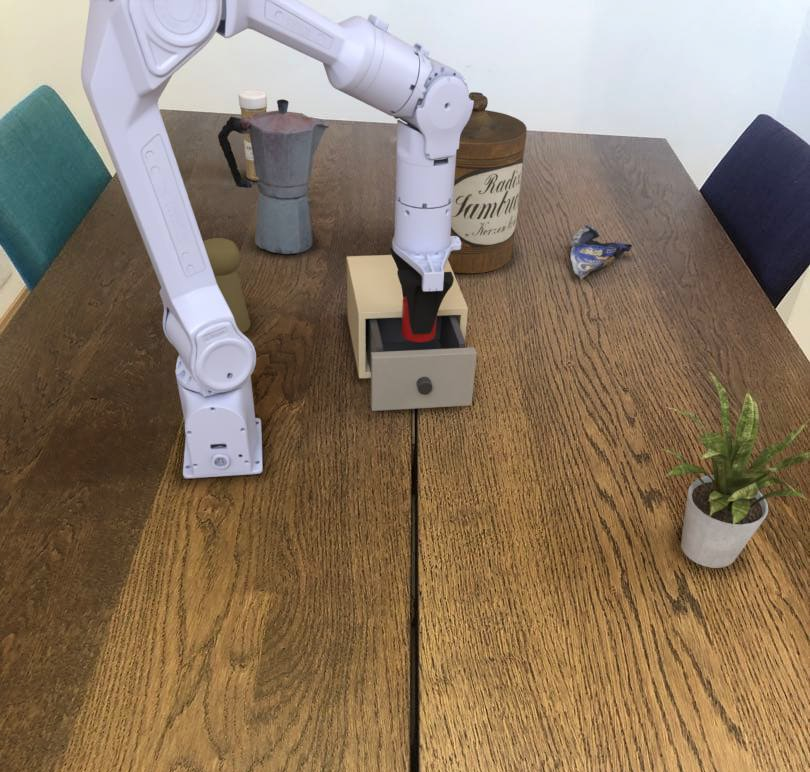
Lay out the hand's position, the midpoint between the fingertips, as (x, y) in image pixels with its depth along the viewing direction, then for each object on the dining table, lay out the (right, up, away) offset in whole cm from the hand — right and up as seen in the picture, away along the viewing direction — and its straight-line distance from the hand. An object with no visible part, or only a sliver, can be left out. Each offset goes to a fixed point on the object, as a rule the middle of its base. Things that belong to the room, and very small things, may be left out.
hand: (418, 322), depth 90 cm
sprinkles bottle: (-27, +40, +54) cm, 72 cm away
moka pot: (-20, +21, +34) cm, 45 cm away
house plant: (+27, -24, -11) cm, 38 cm away
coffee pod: (0, -1, +1) cm, 1 cm away
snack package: (+27, +17, +33) cm, 46 cm away
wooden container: (+7, +19, +34) cm, 40 cm away
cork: (-25, +4, +16) cm, 30 cm away
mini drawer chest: (-2, +1, +14) cm, 14 cm away
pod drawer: (0, -5, +6) cm, 8 cm away
